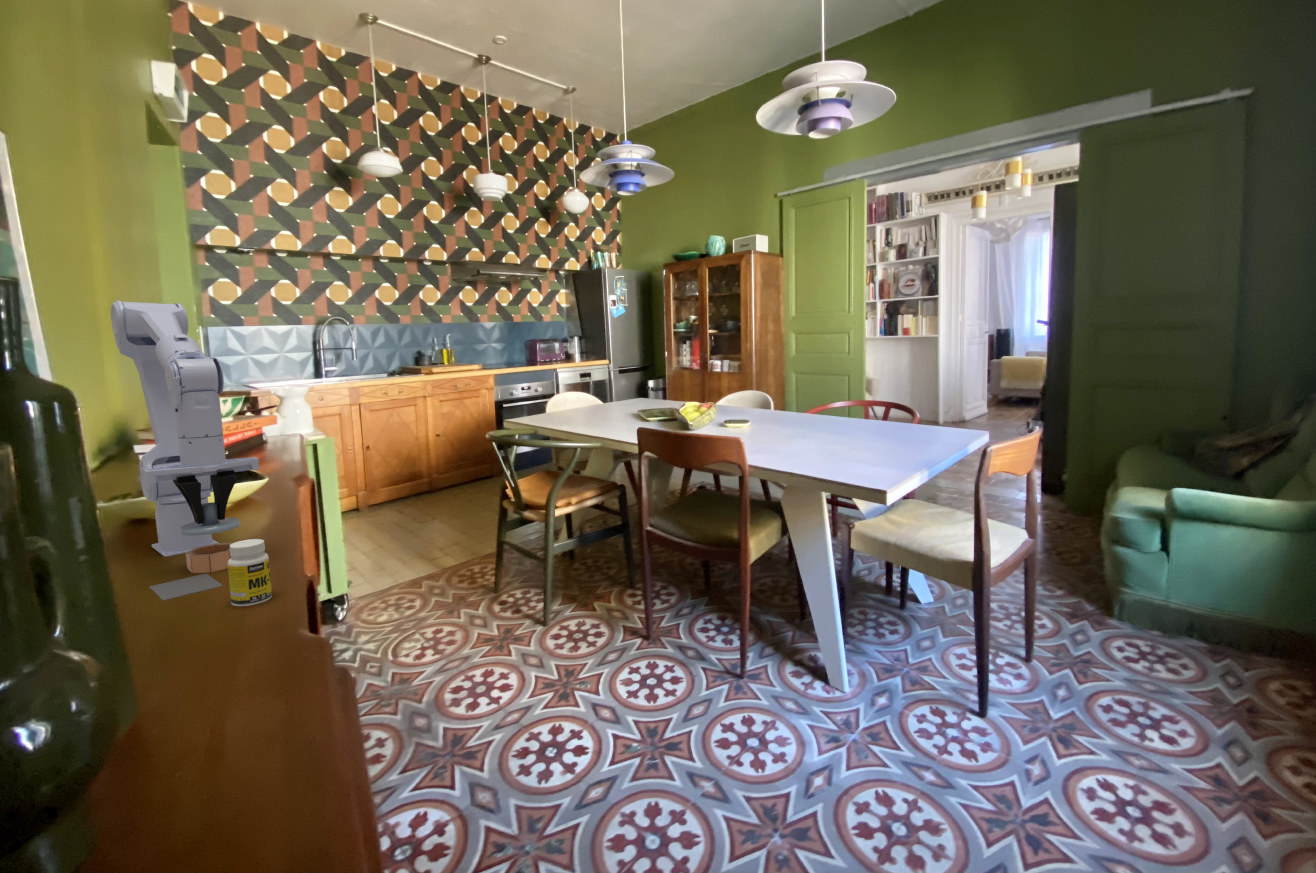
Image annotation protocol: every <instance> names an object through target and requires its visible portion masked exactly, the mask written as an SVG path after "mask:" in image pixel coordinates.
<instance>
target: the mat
mask: <svg viewBox="0 0 1316 873" xmlns="http://www.w3.org/2000/svg"><path fill="white" fill-rule="evenodd" d="M223 585H224V584H223ZM223 585H222V583H220V582H219V581H218V580H216V579H215V578H213V577H212V576H211V575H209V574H208V572H206V573H200V574H197V575H193V576H189V577H183V578H180V579H175V580H171V581H167V582H163V583H159V584H154V585H150V586H148V587H149V589H150V590H151V591H153V592H154V594H156V596H157V597H158V598H160V599H161V600H162V602H163V601H168V600H171V599H172V600H173V599H176V598H180V597H184V596H188V595H191V594H192V595H193V594H197V593H199V592H205V591H209V590H212V589H217V588H221V587H223Z"/></svg>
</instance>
